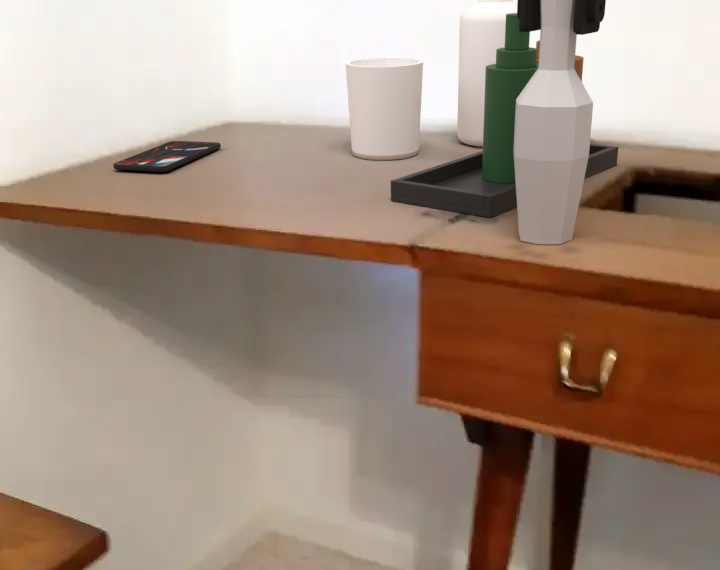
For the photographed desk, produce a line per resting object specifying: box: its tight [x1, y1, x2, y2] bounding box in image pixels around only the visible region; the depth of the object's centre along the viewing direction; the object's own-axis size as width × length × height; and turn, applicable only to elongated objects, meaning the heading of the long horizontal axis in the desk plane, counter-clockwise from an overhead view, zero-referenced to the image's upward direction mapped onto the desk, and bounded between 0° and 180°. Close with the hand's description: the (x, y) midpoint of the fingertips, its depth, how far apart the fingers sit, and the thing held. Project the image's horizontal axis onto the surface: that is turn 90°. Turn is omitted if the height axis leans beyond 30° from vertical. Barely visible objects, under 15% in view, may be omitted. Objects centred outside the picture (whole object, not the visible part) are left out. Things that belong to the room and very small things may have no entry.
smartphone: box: [112, 140, 222, 173], centre depth 117 cm, size 7×1×15 cm
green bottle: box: [482, 13, 539, 184], centre depth 99 cm, size 6×6×16 cm
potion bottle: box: [456, 0, 518, 148], centre depth 117 cm, size 8×8×18 cm
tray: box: [390, 143, 620, 219], centre depth 102 cm, size 12×27×2 cm, turn 141°
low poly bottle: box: [514, 0, 594, 245], centre depth 79 cm, size 6×6×22 cm
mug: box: [345, 57, 424, 161], centre depth 115 cm, size 11×9×10 cm
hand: (559, 29), depth 77 cm, fingers open, 4 cm apart
